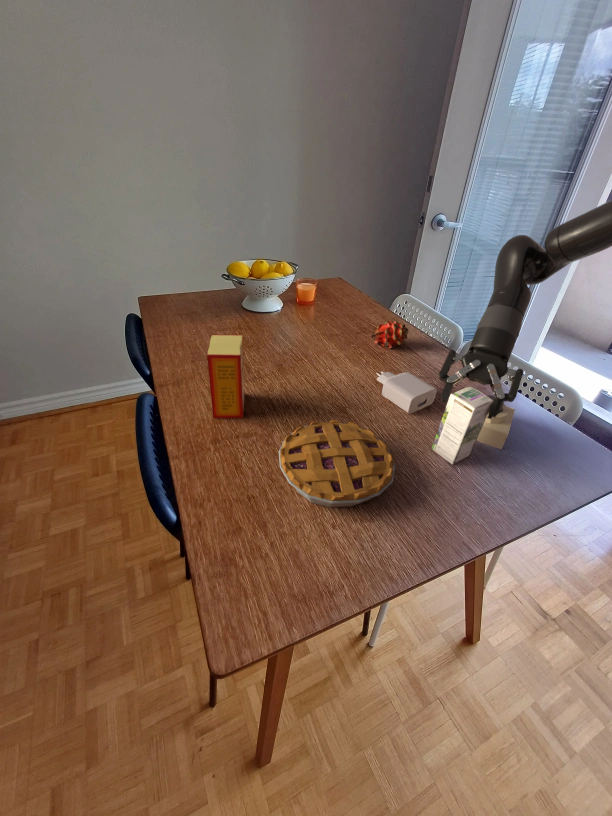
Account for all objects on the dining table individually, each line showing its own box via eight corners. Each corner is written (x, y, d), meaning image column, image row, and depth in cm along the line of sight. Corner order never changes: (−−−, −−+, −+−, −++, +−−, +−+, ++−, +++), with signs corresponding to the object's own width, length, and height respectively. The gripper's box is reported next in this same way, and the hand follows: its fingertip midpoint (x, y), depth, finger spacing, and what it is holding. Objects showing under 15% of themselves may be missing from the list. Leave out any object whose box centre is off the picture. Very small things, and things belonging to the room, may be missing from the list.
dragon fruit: (407, 350, 124) (371, 357, 122) (399, 326, 126) (363, 333, 124) (417, 337, 116) (378, 345, 114) (408, 312, 118) (369, 319, 116)
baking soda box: (217, 394, 95) (211, 332, 86) (244, 394, 96) (242, 333, 87) (213, 418, 88) (206, 353, 78) (243, 417, 88) (240, 354, 79)
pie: (267, 441, 82) (267, 422, 79) (364, 428, 88) (368, 409, 85) (294, 526, 66) (295, 506, 63) (412, 503, 71) (418, 483, 68)
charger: (389, 375, 107) (433, 403, 98) (364, 385, 103) (407, 415, 93) (393, 360, 104) (438, 387, 95) (367, 369, 100) (411, 398, 90)
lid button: (502, 407, 88) (505, 399, 87) (499, 416, 85) (502, 409, 84) (481, 400, 90) (484, 392, 89) (478, 409, 87) (480, 402, 85)
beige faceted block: (508, 423, 93) (518, 402, 89) (501, 449, 85) (511, 428, 81) (465, 409, 96) (472, 388, 93) (454, 432, 89) (462, 411, 85)
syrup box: (448, 440, 86) (468, 384, 78) (471, 456, 82) (494, 399, 74) (430, 449, 83) (449, 392, 75) (453, 466, 80) (475, 408, 71)
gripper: (531, 351, 78) (502, 427, 77) (458, 332, 84) (430, 402, 82) (540, 336, 71) (508, 419, 70) (460, 316, 77) (429, 393, 75)
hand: (466, 410), depth 76 cm, fingers open, 8 cm apart
